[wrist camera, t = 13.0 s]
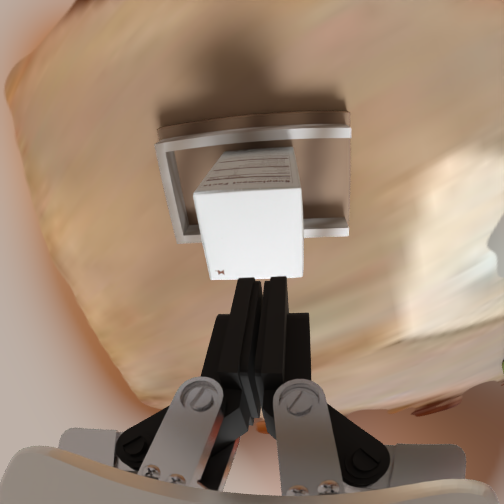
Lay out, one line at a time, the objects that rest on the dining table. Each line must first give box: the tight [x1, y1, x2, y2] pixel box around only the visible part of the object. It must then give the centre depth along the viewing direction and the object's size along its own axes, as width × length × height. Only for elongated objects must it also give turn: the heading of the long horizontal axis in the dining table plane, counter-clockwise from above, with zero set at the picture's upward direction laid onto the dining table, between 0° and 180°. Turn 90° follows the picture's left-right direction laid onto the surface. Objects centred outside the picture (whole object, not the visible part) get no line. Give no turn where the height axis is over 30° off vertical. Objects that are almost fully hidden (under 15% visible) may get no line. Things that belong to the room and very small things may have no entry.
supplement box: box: [193, 147, 304, 280], centre depth 26 cm, size 7×7×13 cm
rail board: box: [154, 111, 351, 244], centre depth 31 cm, size 20×14×4 cm
